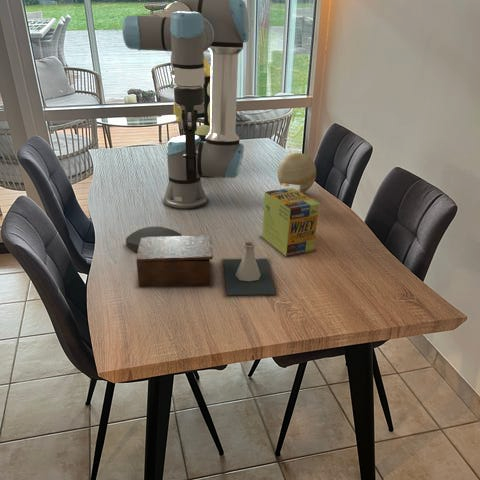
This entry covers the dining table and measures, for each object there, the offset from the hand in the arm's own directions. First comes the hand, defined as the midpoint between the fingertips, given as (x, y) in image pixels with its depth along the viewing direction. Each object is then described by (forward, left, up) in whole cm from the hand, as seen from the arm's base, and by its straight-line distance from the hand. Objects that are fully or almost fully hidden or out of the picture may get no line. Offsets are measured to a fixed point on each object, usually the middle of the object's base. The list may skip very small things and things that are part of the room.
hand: (191, 180), depth 137 cm
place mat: (+10, +15, -24) cm, 31 cm away
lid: (+8, -5, -16) cm, 19 cm away
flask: (+10, +15, -24) cm, 30 cm away
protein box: (-11, +30, -25) cm, 40 cm away
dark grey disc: (-11, -12, -25) cm, 29 cm away
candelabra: (-84, +6, -25) cm, 87 cm away
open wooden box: (+8, -5, -24) cm, 26 cm away
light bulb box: (-31, +33, -25) cm, 51 cm away
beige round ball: (-57, +40, -25) cm, 73 cm away
